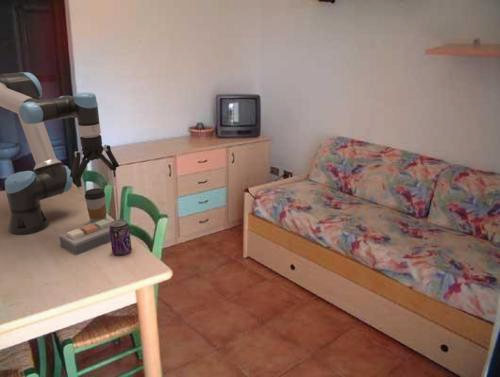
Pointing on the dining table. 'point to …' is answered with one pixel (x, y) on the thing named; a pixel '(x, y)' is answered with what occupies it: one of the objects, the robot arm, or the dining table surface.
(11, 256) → the dining table surface
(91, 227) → the key terracotta
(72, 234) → the key cream
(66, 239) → the keypad
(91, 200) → the coffee cup
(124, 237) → the beverage can
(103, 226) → the key sage
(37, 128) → the robot arm
